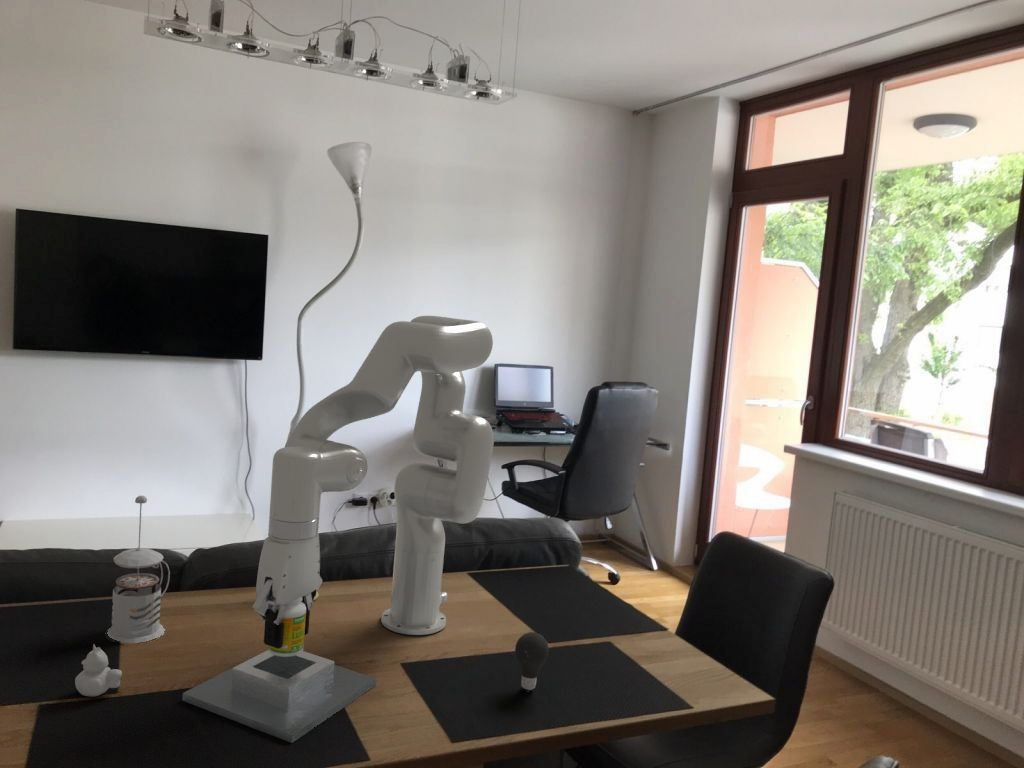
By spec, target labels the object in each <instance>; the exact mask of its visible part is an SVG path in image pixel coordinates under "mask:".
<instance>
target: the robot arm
mask: <svg viewBox="0 0 1024 768" xmlns="http://www.w3.org/2000/svg"><path fill="white" fill-rule="evenodd" d="M493 345H494V339H493V335H492V332H491V330H490V329H489V327H488V326H487V325H486V324H485V323H483V322H480V321H476V320H471V319H470V320H469V319H462V318H455V317H454V318H453V317H447V316H441V315H439V316H438V315H419V316H416V317H414V318H412V319H411V320H410V321H405V320H401V321H395V322H392V323H390V324H388V325H387V326H386V327H385V328H384V329H383V330H382V332H381V334H380V335H379V337H378V339H376V341H375V343H374V345H373V346H372V348H371V350H370V351H369V352H368V354H367V356H366V358H365V359H364V360H363V362H362V364H361V366H360V367H359V368H358V370H357V372H356V374H355V375H354V377H353V378H352V380H351V381H350V382H349V383H348V384H345V386H343V387H341V388H339V389H337V390H336V391H335V390H334V391H333V392H332V393H330V394H329V395H327V396H326V397H324V398H322V400H320V401H318V402H317V403H316V404H313V405H312V407H310V408H309V409H308V410H307V411H306V412H305V413H304V414H303V416H302V417H301V418H300V420H299V421H298V423H297V424H296V426H295V427H294V429H293V430H292V432H291V434H290V435H289V437H288V439H287V440H286V443H285V445H284V447H282V448H281V447H280V448H279V449H278V450H276V452H275V453H274V455H273V457H272V470H271V471H272V472H271V486H270V498H269V499H270V502H269V515H268V516H269V517H268V529H267V531H268V533H267V537H266V538H264V541H263V545H262V548H261V553H260V558H259V563H258V568H257V569H258V570H257V576H256V577H257V578H256V586H255V587H256V588H255V598H256V599H255V601H254V604H253V605H252V609H253V611H255V612H256V613H258V614H259V616H260V617H261V618H262V621H264V633H263V643H264V645H266V646H268V645H269V646H272V647H275V648H278V649H279V648H281V647H282V645H283V630H284V623H282V622H281V620H282V616H283V613H284V609H285V605H286V604H287V603H290V602H292V601H294V600H296V599H298V598H299V597H302V601H301V602H303V603H304V604H305V606H306V620H305V634H304V636H306V635H308V634H309V631H310V629H309V627H310V613H311V609H312V608H313V606H314V603H313V599H314V597H315V596H316V593H317V592H318V591H319V588H320V587H321V585H322V583H323V578H322V577H321V575H320V572H321V571H320V569H321V551H320V550H321V549H320V548H321V545H320V544H321V543H320V536H319V535H320V534H319V527H320V526H319V524H320V514H321V513H320V511H321V499H322V494H323V493H332V492H335V493H336V492H337V493H339V492H347V491H351V490H352V489H355V488H356V487H358V486H359V485H360V484H361V483H362V482H363V481H364V479H365V477H366V476H367V473H368V465H369V464H368V460H367V457H366V456H365V454H364V453H363V452H362V451H361V450H360V449H359V448H357V447H355V446H352V445H350V444H346V443H341V442H336V441H333V440H328V439H329V438H330V437H331V436H332V435H333V434H335V433H336V432H337V431H338V430H340V429H342V428H344V427H345V426H347V425H350V424H353V423H355V422H360V421H363V420H367V419H372V418H375V417H379V416H382V415H384V414H387V413H389V412H391V411H393V409H394V408H396V405H397V404H398V402H399V400H400V399H401V396H402V395H403V393H404V392H405V390H406V388H407V386H408V384H409V383H410V381H411V379H412V377H413V376H414V374H415V373H417V372H420V375H421V391H420V396H419V400H418V401H419V402H418V407H417V413H416V417H415V422H414V426H413V427H414V428H413V433H412V445H413V448H414V450H415V451H416V452H417V453H418V454H420V455H422V456H425V457H428V458H432V459H437V460H441V461H447V462H451V463H456V470H455V469H450V468H447V467H443V466H439V465H434V464H428V463H423V462H418V463H417V462H416V463H415V462H414V463H410V464H408V465H406V466H404V467H403V468H401V469H400V471H399V472H398V474H397V476H396V478H395V481H394V485H393V487H394V488H393V489H394V492H393V493H394V502H395V508H396V531H395V546H394V556H393V557H394V558H393V569H392V570H393V571H392V572H393V573H392V582H391V583H392V584H391V595H390V596H391V597H390V607H389V608H387V609H386V610H384V611H383V612H382V614H381V620H380V621H381V622H380V623H382V625H383V626H384V627H385V628H386V629H388V630H389V631H392V632H395V633H397V634H401V635H408V636H426V635H427V636H428V635H431V634H435V633H438V632H439V631H442V630H443V629H444V628H445V627H446V625H447V617H446V615H445V614H444V613H443V611H440V606H441V605H442V603H444V602H446V601H448V598H449V596H448V593H447V592H446V591H442V581H443V580H442V579H443V569H444V559H445V558H444V555H445V546H446V533H445V529H444V528H445V527H444V525H443V522H442V520H443V521H444V520H445V521H447V522H451V523H456V524H468V523H471V522H473V521H474V520H476V518H477V517H478V516H479V513H480V512H481V510H482V506H483V503H484V499H485V494H486V488H487V483H488V479H489V478H488V477H489V472H490V467H491V463H492V457H493V453H494V444H495V439H494V437H495V436H494V432H493V429H492V425H491V424H490V422H489V421H488V420H487V419H485V418H484V417H481V416H479V415H475V414H470V413H464V412H463V411H464V403H465V396H466V389H467V388H466V387H467V386H466V381H465V378H464V377H465V376H464V374H463V372H464V371H467V370H472V369H476V368H478V367H480V366H482V365H483V364H485V362H486V361H487V360H488V359H489V357H490V356H491V353H492V350H493ZM273 605H274V606H277V610H276V614H275V613H274V612H273V611H272V608H273Z"/></svg>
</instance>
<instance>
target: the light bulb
mask: <svg viewBox="0 0 1024 768" xmlns="http://www.w3.org/2000/svg"><path fill="white" fill-rule="evenodd" d="M514 650H515V651H514V653H515V657H516V660H517V662H518V664H519V667H520V673H521V682H520V684H521V687H522V688H523V689H524V690H525V689H526V690H531V691H532V690H534V689H535V688H536V685H537V678H538V676H539V673H540V670H541V669H542V667H543V666H544V664H545V662H546V661H547V659H548V656H549V645H548V642H547V640H546V639H545V638H544V636H543V635H541V634H540V633H538V632H534V631H533V632H531V631H530V632H526V633H524V634H522V635H521V636H520V637H519V638H518V640H517V641H516V643H515V649H514ZM526 690H525V691H526Z"/></svg>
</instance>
